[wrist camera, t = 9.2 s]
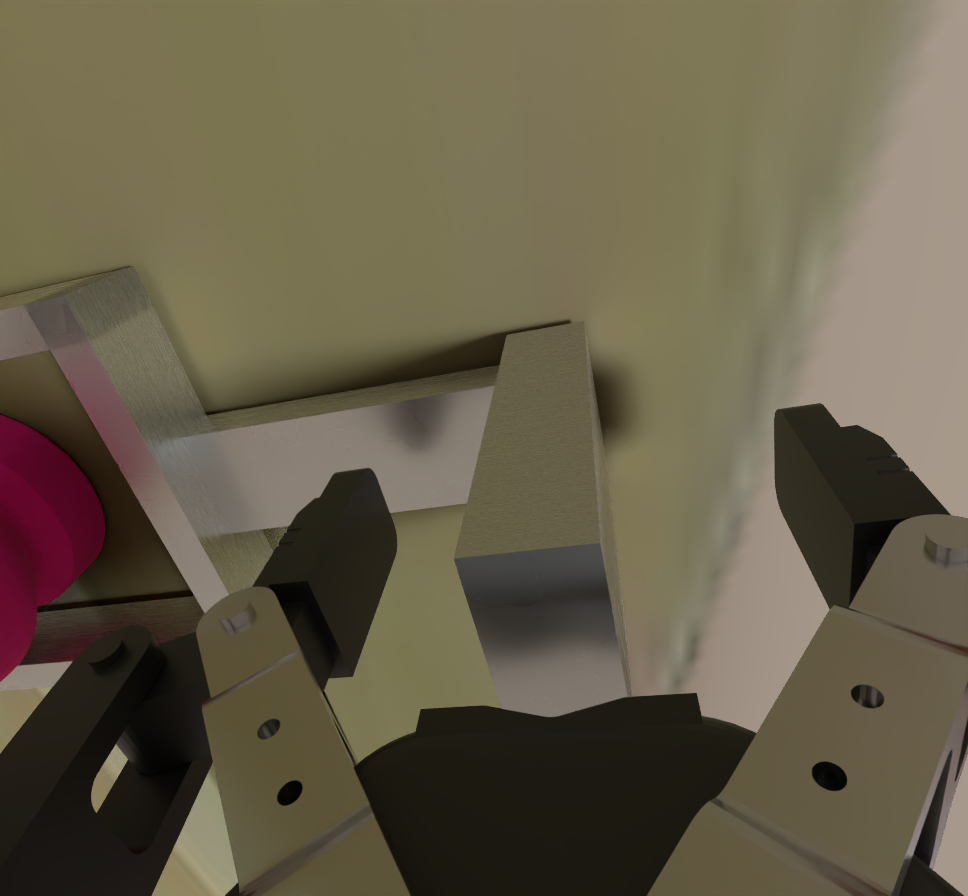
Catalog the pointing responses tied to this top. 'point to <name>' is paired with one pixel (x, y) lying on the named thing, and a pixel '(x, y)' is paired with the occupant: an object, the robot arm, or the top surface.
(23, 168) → the top surface
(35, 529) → the pepper mill
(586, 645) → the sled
